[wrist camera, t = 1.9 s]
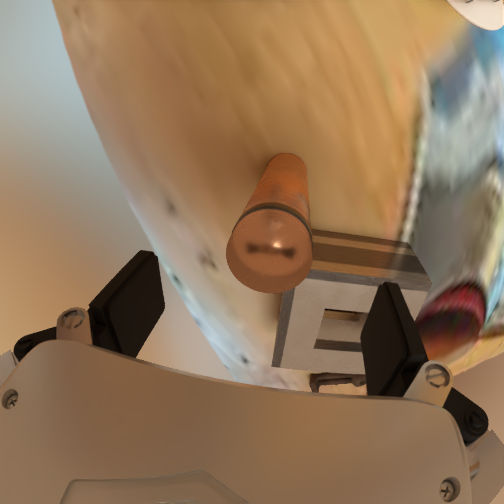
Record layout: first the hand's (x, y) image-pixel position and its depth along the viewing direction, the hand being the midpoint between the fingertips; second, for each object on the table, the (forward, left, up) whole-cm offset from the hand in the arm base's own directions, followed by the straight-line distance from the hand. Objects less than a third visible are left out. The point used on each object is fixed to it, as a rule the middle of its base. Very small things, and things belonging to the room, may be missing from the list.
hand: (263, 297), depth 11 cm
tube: (-1, 0, -19) cm, 19 cm away
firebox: (+12, +8, -19) cm, 24 cm away
